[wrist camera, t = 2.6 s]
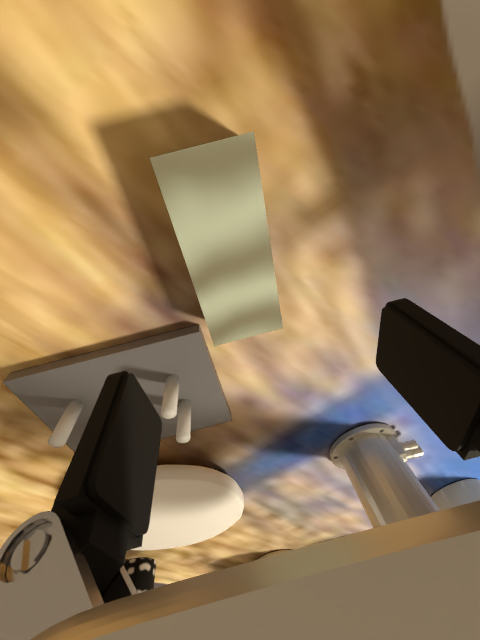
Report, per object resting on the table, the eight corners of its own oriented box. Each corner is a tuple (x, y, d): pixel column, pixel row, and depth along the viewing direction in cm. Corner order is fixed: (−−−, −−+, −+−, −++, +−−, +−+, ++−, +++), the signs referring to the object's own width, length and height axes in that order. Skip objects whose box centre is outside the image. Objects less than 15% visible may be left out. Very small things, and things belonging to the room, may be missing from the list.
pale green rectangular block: (159, 159, 21) (149, 157, 16) (242, 138, 21) (253, 131, 16) (212, 320, 29) (214, 346, 25) (270, 304, 29) (282, 328, 25)
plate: (269, 522, 49) (153, 566, 52) (260, 485, 54) (156, 527, 57) (187, 481, 32) (25, 550, 35) (187, 433, 37) (45, 497, 40)
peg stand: (199, 324, 29) (199, 361, 23) (230, 412, 37) (236, 454, 32) (11, 372, 29) (-34, 421, 23) (86, 449, 37) (66, 498, 32)
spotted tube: (114, 562, 59) (81, 721, 42) (150, 554, 60) (131, 708, 43) (127, 573, 64) (101, 720, 47) (160, 566, 64) (146, 709, 47)
